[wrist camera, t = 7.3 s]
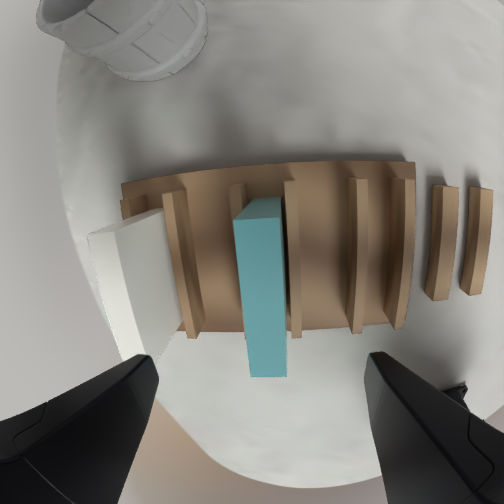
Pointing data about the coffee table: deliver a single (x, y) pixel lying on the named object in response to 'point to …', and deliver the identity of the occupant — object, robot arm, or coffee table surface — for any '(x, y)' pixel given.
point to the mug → (129, 33)
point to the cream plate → (137, 283)
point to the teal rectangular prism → (263, 285)
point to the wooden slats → (445, 240)
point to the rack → (291, 240)
